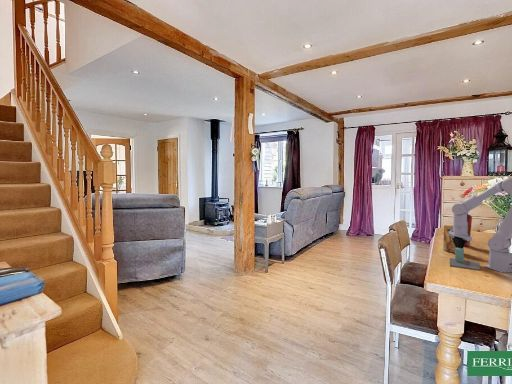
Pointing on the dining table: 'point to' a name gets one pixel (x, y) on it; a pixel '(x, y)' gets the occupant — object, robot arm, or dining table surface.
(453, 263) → the slate board
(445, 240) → the candy box
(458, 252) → the teal block
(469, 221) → the liquor
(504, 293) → the dining table surface
